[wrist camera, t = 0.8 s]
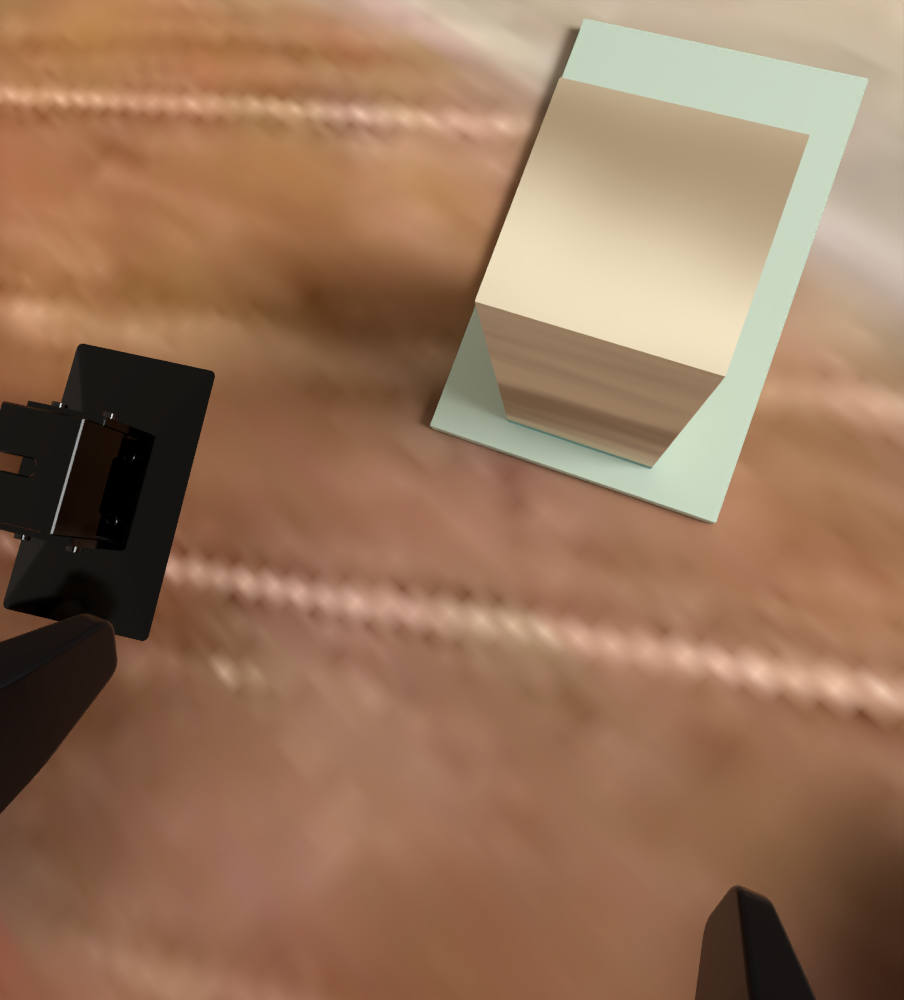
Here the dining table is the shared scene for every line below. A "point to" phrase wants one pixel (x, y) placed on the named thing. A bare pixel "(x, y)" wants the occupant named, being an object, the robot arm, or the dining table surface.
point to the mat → (729, 409)
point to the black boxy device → (100, 486)
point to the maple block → (630, 265)
